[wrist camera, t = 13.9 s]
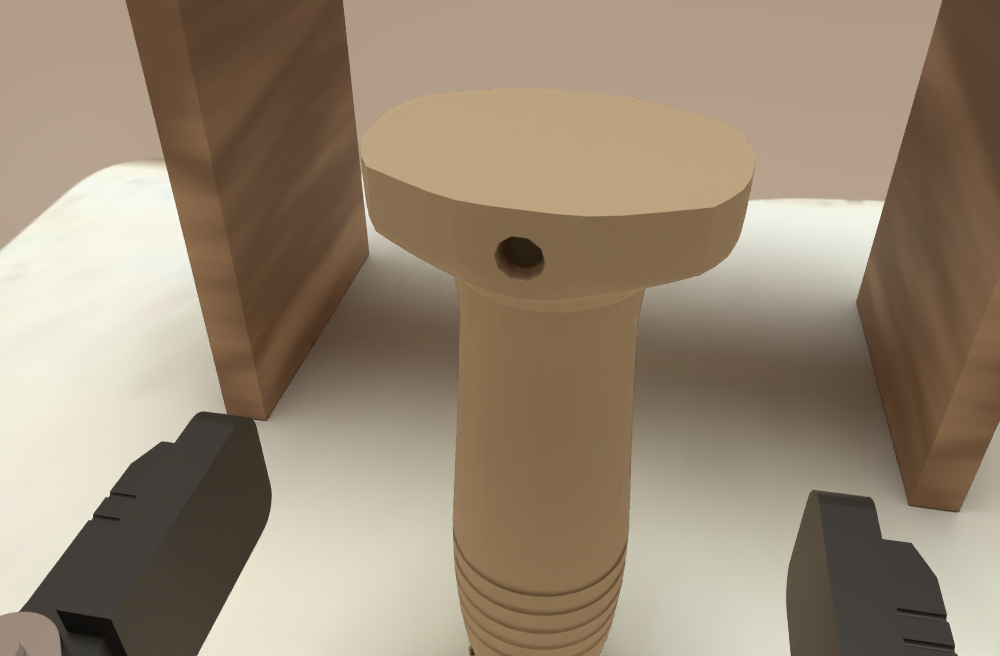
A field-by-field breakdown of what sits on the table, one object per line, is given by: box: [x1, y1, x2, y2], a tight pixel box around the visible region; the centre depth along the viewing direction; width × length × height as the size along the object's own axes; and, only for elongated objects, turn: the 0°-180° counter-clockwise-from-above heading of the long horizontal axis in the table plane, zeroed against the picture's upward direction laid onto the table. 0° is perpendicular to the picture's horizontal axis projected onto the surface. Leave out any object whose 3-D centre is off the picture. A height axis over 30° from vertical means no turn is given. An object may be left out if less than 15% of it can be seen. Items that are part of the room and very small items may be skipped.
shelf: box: [126, 0, 1000, 512], centre depth 27 cm, size 25×12×24 cm, turn 79°
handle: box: [360, 88, 755, 656], centre depth 19 cm, size 5×6×15 cm
